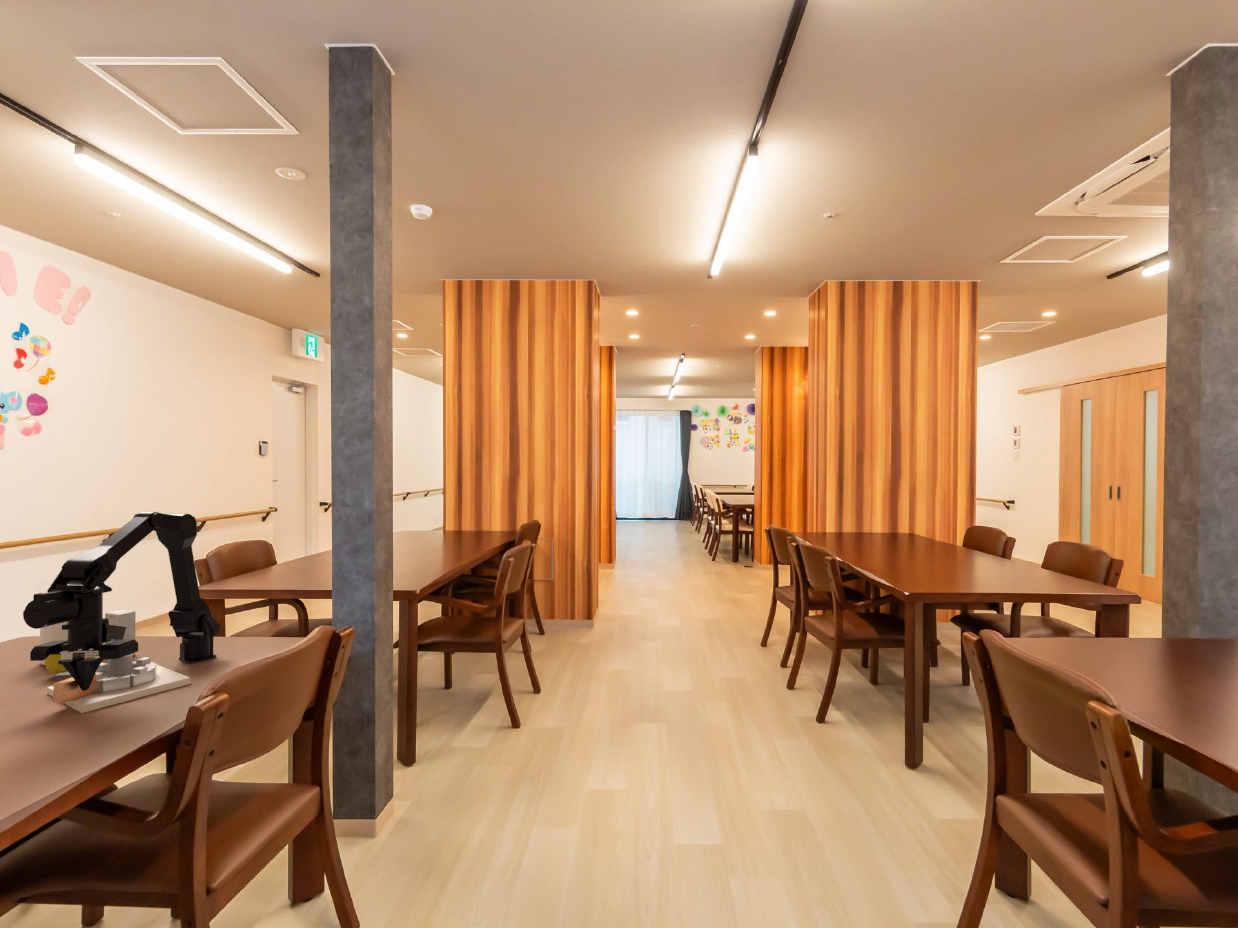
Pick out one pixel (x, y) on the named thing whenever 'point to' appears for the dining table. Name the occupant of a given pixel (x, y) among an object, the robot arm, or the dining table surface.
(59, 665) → the lemon
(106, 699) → the base board
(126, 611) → the skincare box
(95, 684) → the toy block set
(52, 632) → the pill bottle
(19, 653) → the dining table surface
